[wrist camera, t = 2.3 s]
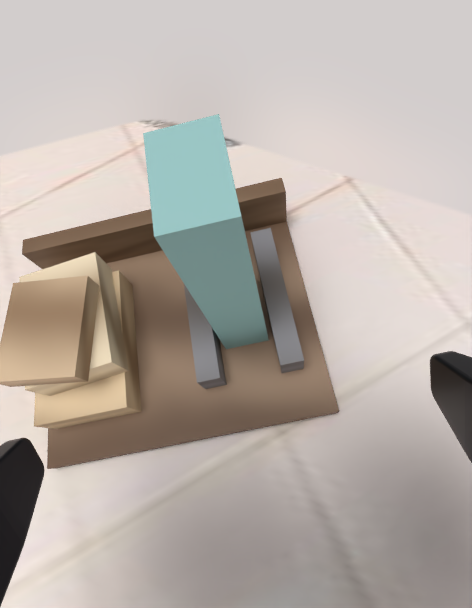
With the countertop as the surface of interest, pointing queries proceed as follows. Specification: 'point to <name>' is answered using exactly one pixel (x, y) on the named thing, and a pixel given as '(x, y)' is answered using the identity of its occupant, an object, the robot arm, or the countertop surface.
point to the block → (204, 226)
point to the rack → (157, 340)
